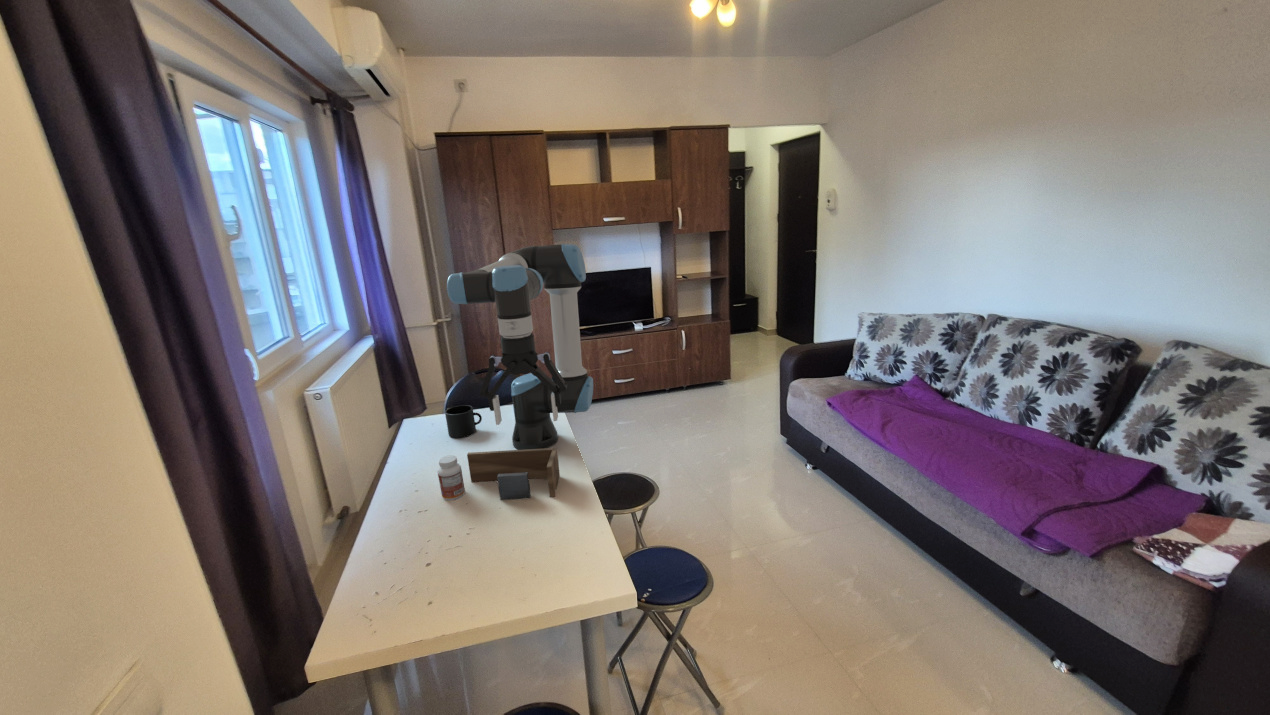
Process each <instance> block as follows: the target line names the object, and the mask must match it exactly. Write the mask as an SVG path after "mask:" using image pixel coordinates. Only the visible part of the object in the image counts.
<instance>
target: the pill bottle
mask: <svg viewBox="0 0 1270 715" xmlns="http://www.w3.org/2000/svg"><path fill="white" fill-rule="evenodd" d="M438 465H439V467H438V469H437V476H438V477H437V478H438V482H439V488H440V493H441V496H442V498H443V499H444V500H446V501H452V500H453V501H454V500H457V499H460V498H461V497H463V496H464V495H465V494H466V492H465V491H466V489H465V483H464V477H463V470H462V467H461V464H460V463H458V459H457V456H456V455H454V454H453V455H451V454H450V455H449V454H448V455H446V456H445V455H444V456H443V457H441V458H439V459H438Z"/></svg>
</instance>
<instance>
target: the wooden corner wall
mask: <svg viewBox="0 0 1270 715" xmlns="http://www.w3.org/2000/svg"><path fill="white" fill-rule="evenodd" d="M466 457H467V464H468V469H469V476H470V482H471V483H488V482H489V483H490V482H491V483H492V482H493V483H494V482H498V480H497V476H498V474H507V473H526V472H528V477H529V481H530V480H546V479H547V481H548V491H549V498H554V497H555V496H556V492H557V490H558V485H559V481H560V478H561V475H560V474H561V473H560V466H559V454H558V448H557V447H547V448H544V449H526V450H519V449H513V450H512V449H511V450H497V451H496V450H493V451H489V450H488V451H475V452H468V453H467V454H466Z"/></svg>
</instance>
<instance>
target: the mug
mask: <svg viewBox="0 0 1270 715" xmlns="http://www.w3.org/2000/svg"><path fill="white" fill-rule="evenodd" d="M444 413H445V420H446V426H447V432H448V436H449V437H450V438H452V439H463V438H467V437H470V436H473V435H474V434H476V431H477V428H476V426H477V425H479V424H481V423H482V420H483V418H482V417H483V416H482V415H481V414H480V412H479V413H478V412H474V408H473V406H472V405H470V404H469V405H468V404H463V405H461V404H460V405H456V406H451V407H450V408H447V409H446V410H445V411H444ZM475 416H477V417H478V419H479V420H478V421H476V420H475Z"/></svg>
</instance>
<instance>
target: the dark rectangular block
mask: <svg viewBox="0 0 1270 715" xmlns="http://www.w3.org/2000/svg"><path fill="white" fill-rule="evenodd" d="M497 480H498V481H497V486H498V494H499V501H504V500H521V499H522V500H524V499H525V500H527V499H530V498H531V496H532V494H531V487H530V480H529V477H528V472H526V473H507V474H498V476H497Z"/></svg>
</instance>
